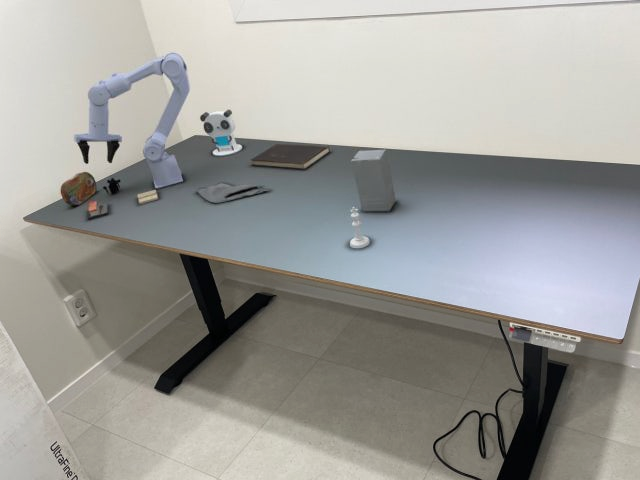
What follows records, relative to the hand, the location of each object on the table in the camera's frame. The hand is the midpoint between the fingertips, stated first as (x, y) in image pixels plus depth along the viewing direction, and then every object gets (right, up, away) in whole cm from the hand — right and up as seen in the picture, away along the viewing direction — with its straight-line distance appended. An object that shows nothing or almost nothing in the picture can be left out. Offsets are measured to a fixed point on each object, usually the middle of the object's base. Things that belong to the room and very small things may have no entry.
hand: (97, 162), depth 190 cm
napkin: (+18, -13, -2) cm, 22 cm away
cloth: (+46, -12, -9) cm, 48 cm away
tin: (-8, -12, +6) cm, 15 cm away
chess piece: (+89, -30, -49) cm, 106 cm away
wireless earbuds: (+3, -9, +7) cm, 12 cm away
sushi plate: (+3, -18, -6) cm, 19 cm away
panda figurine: (+36, +11, +30) cm, 48 cm away
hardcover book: (+63, +3, +11) cm, 64 cm away
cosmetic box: (+94, -19, -33) cm, 101 cm away
